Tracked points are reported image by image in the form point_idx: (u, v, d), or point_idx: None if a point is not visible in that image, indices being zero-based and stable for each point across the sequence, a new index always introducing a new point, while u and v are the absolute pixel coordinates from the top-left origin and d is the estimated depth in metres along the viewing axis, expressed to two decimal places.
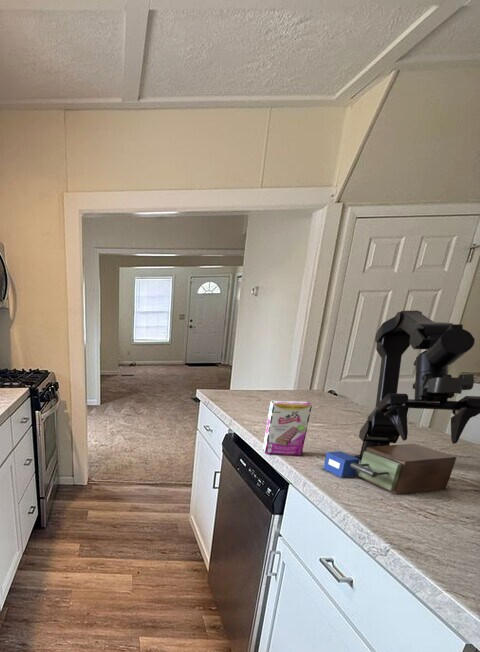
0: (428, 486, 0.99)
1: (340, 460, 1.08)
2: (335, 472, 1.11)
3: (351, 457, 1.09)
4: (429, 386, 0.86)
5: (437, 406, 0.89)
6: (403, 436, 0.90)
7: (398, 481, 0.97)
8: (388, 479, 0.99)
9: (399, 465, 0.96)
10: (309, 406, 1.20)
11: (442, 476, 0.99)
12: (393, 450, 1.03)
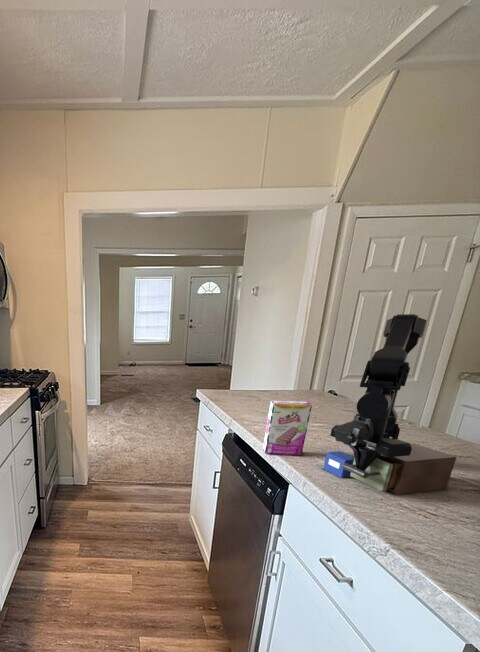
0: (428, 486, 0.99)
1: (340, 460, 1.08)
2: (335, 472, 1.11)
3: (351, 457, 1.09)
4: None
5: None
6: None
7: (398, 481, 0.97)
8: (380, 480, 0.98)
9: (390, 466, 0.96)
10: (309, 406, 1.20)
11: (442, 476, 0.99)
12: None
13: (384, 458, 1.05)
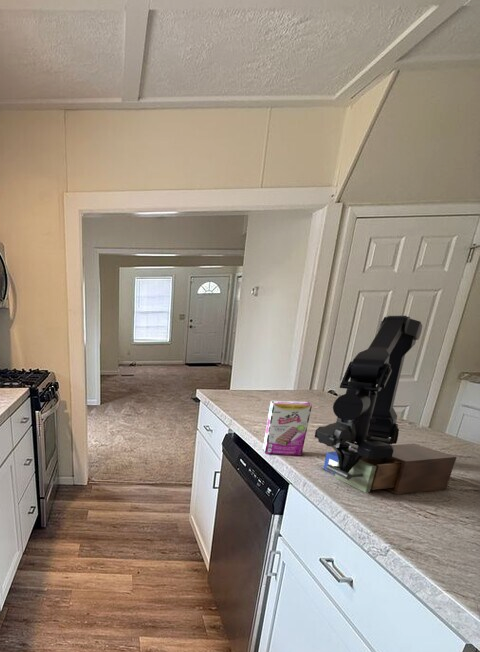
0: (428, 486, 0.99)
1: None
2: None
3: None
4: None
5: None
6: None
7: (398, 481, 0.97)
8: (363, 481, 0.97)
9: (373, 467, 0.95)
10: (309, 406, 1.20)
11: (442, 476, 0.99)
12: None
13: (368, 459, 1.05)
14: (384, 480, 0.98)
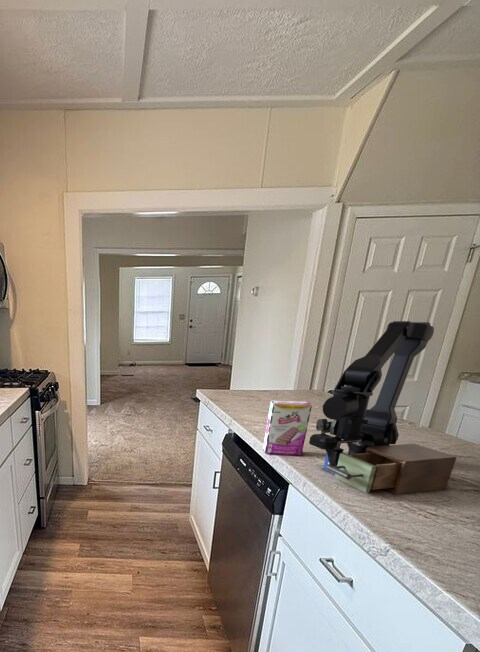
0: (428, 486, 0.99)
1: None
2: None
3: None
4: None
5: None
6: None
7: (398, 481, 0.97)
8: (363, 481, 0.97)
9: (373, 467, 0.95)
10: (309, 406, 1.20)
11: (442, 476, 0.99)
12: (393, 450, 1.03)
13: (368, 459, 1.05)
14: (384, 480, 0.98)
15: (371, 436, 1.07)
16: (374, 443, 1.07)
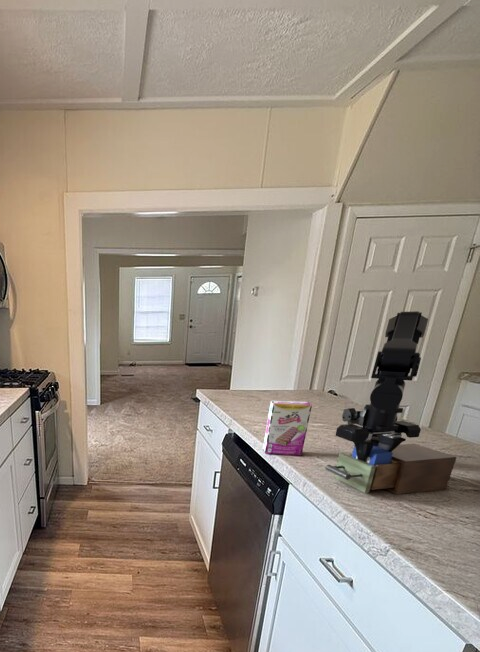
0: (428, 486, 0.99)
1: (370, 454, 0.97)
2: None
3: (383, 450, 0.98)
4: None
5: None
6: None
7: (398, 481, 0.97)
8: (362, 481, 0.97)
9: (373, 467, 0.95)
10: (309, 406, 1.20)
11: (442, 476, 0.99)
12: (393, 450, 1.03)
13: None
14: (383, 480, 0.98)
15: (405, 427, 0.96)
16: (409, 435, 0.96)
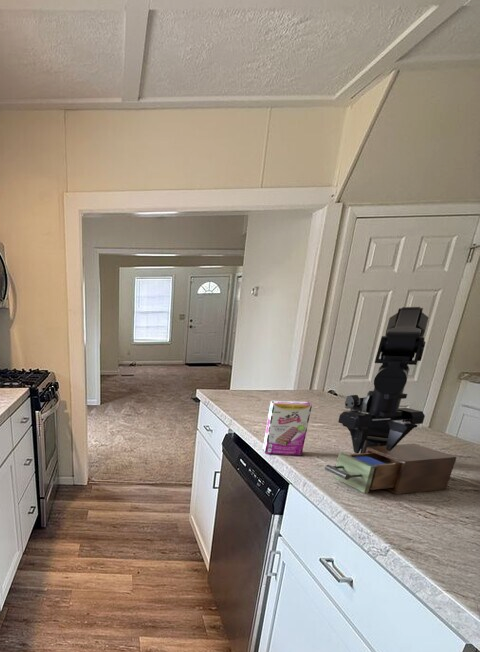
0: (428, 486, 0.99)
1: None
2: None
3: (379, 463, 0.99)
4: None
5: None
6: None
7: (398, 481, 0.97)
8: (362, 481, 0.97)
9: (372, 467, 0.95)
10: (309, 406, 1.20)
11: (442, 476, 0.99)
12: (393, 450, 1.03)
13: None
14: (383, 480, 0.98)
15: (409, 413, 0.95)
16: (413, 421, 0.95)
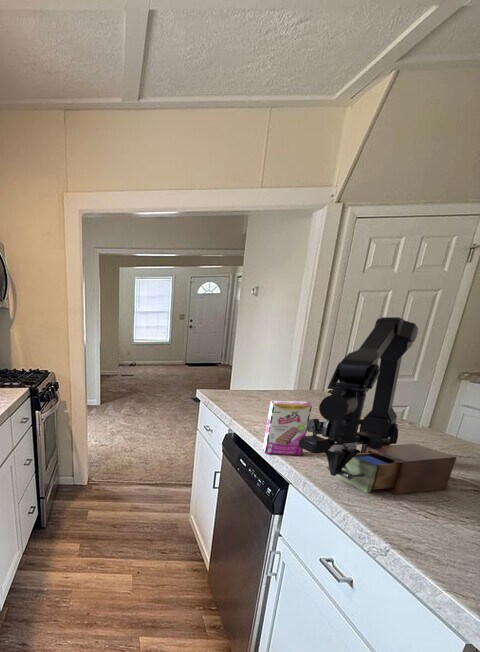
0: (428, 486, 0.99)
1: None
2: None
3: (382, 462, 0.99)
4: None
5: None
6: None
7: (398, 481, 0.97)
8: (364, 481, 0.98)
9: (374, 467, 0.95)
10: (309, 406, 1.20)
11: (442, 476, 0.99)
12: (393, 450, 1.03)
13: None
14: (385, 479, 0.98)
15: (368, 438, 0.95)
16: (371, 446, 0.95)
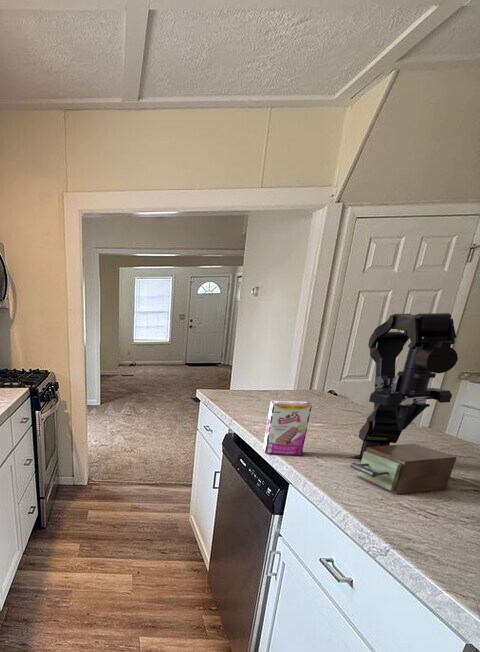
0: (428, 486, 0.99)
1: None
2: None
3: None
4: None
5: None
6: None
7: (398, 481, 0.97)
8: (388, 479, 0.99)
9: (399, 465, 0.96)
10: (309, 406, 1.20)
11: (442, 476, 0.99)
12: (393, 450, 1.03)
13: None
14: None
15: (437, 392, 1.00)
16: (441, 400, 1.00)
